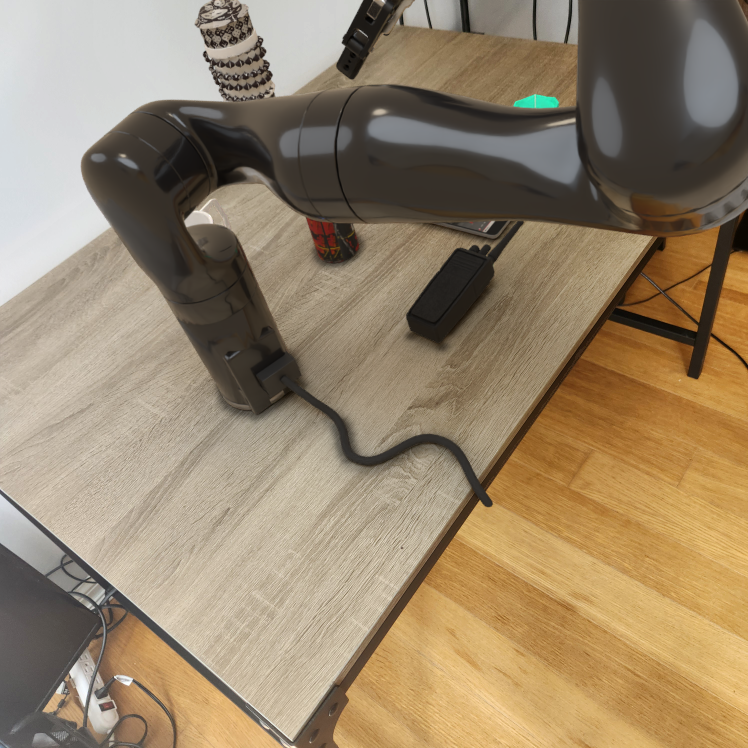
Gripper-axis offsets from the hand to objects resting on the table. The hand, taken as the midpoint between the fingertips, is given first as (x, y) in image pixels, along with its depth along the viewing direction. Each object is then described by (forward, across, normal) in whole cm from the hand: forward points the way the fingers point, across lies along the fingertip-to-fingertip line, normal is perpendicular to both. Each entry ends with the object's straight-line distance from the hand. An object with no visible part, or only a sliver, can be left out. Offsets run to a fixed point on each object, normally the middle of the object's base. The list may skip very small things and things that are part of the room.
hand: (363, 50), depth 66 cm
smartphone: (+19, +10, -21) cm, 30 cm away
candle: (+14, +20, -28) cm, 37 cm away
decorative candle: (+44, +18, +6) cm, 48 cm away
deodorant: (+28, -1, -10) cm, 30 cm away
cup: (+37, -10, +1) cm, 39 cm away
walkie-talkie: (+14, -5, -26) cm, 30 cm away
